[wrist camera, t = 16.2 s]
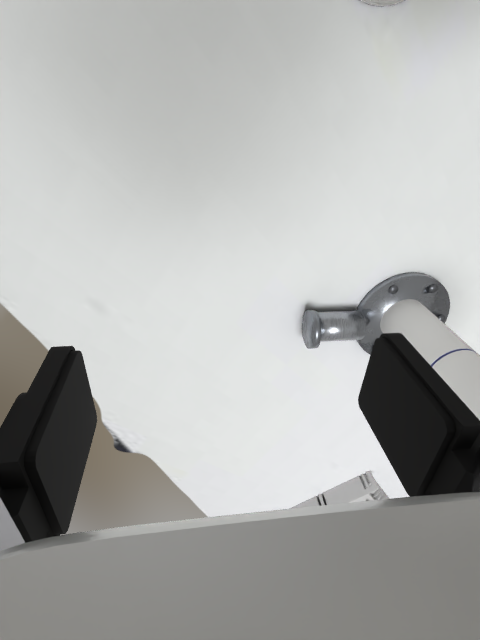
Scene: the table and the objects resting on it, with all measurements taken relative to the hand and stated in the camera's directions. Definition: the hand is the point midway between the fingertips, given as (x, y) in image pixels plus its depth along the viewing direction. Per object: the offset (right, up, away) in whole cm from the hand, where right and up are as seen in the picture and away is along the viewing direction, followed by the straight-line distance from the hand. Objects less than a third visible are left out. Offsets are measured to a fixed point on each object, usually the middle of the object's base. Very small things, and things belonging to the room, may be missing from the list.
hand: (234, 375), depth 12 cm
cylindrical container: (+25, +2, +45) cm, 51 cm away
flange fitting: (+21, +2, +45) cm, 50 cm away
